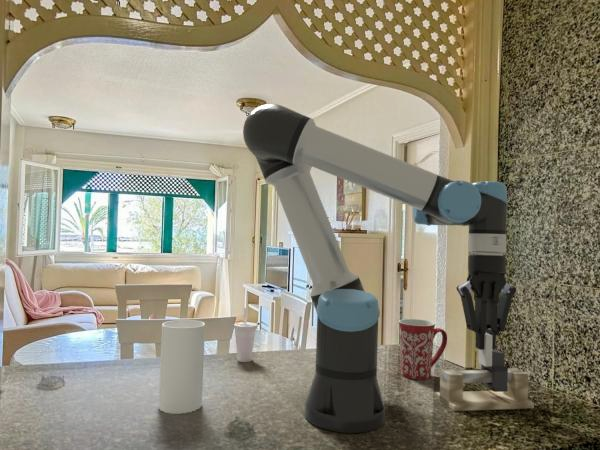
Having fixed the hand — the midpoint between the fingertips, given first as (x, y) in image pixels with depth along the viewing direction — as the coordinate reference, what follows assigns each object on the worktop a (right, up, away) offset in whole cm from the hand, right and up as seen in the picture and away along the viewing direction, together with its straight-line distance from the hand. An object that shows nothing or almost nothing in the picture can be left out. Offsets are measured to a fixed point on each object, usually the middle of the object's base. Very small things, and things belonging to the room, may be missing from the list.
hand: (485, 364), depth 96 cm
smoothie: (-55, -7, +26) cm, 61 cm away
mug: (-9, -9, +18) cm, 21 cm away
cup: (-63, -6, -8) cm, 64 cm away
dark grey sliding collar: (+2, -5, 0) cm, 6 cm away
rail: (0, -8, 0) cm, 8 cm away
